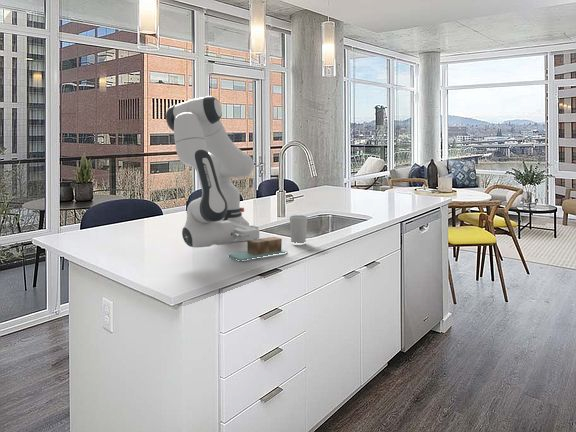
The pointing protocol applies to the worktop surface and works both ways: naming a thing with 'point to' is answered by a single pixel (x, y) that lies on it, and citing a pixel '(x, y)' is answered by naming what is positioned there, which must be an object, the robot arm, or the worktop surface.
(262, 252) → the block
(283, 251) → the board
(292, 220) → the cup
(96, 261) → the worktop surface
